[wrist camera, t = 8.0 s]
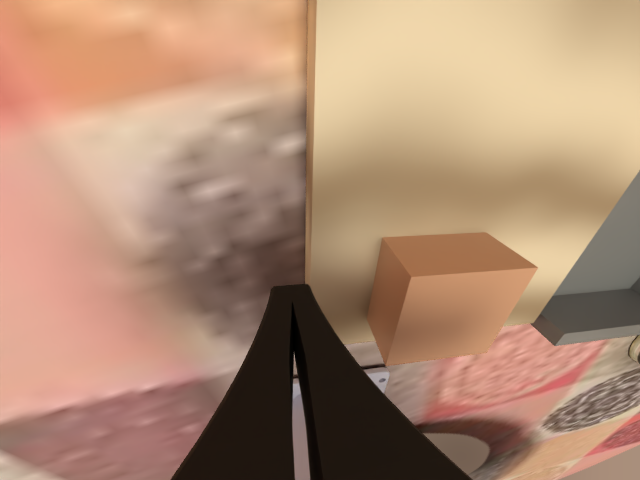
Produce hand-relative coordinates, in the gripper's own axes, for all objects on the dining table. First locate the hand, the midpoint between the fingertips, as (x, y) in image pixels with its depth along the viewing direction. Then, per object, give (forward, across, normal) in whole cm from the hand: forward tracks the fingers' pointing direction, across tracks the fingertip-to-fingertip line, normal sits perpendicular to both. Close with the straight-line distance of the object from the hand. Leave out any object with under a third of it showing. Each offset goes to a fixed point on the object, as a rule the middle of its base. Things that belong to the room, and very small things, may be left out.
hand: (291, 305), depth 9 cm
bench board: (+3, -7, -4) cm, 9 cm away
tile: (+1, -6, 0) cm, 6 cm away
